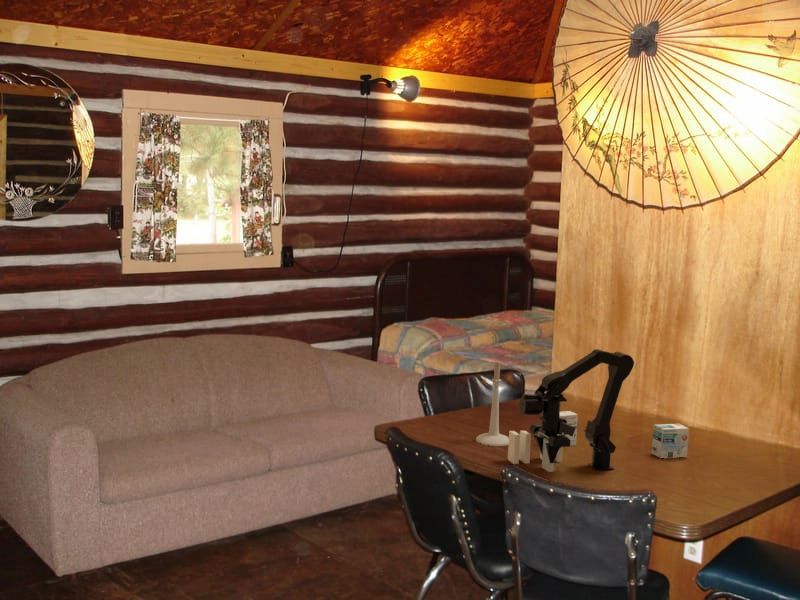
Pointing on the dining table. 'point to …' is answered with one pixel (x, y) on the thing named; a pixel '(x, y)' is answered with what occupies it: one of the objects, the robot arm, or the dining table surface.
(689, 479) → the dining table surface
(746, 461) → the dining table surface
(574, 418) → the ink box
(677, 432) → the light bulb box
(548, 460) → the domino
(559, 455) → the domino
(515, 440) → the domino
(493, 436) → the candlestick
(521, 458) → the domino
